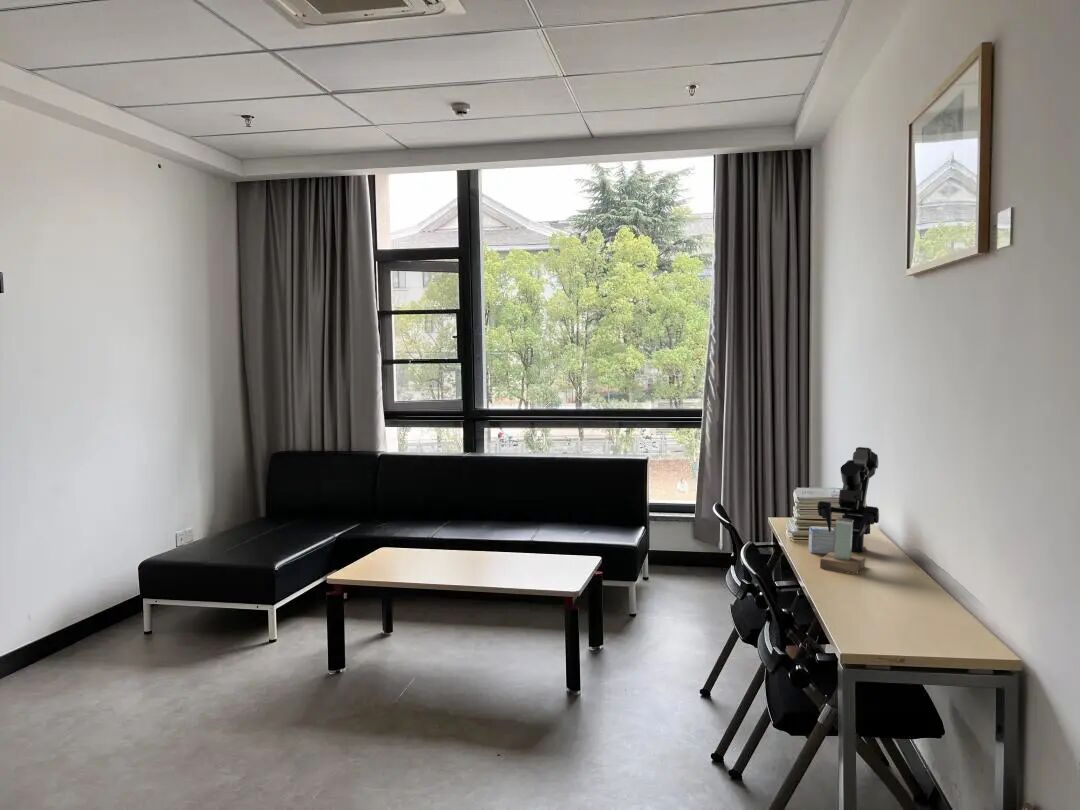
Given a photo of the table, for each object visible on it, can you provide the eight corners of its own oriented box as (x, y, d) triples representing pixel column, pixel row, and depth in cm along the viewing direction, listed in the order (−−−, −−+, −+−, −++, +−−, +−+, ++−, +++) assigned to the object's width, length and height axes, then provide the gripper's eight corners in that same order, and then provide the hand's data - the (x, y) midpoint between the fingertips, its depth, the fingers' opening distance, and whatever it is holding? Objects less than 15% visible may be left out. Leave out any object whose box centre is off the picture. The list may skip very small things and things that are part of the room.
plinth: (830, 560, 259) (830, 551, 259) (864, 566, 252) (865, 557, 252) (820, 567, 250) (820, 558, 250) (855, 574, 244) (855, 565, 243)
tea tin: (836, 555, 254) (838, 517, 253) (851, 557, 252) (853, 519, 251) (834, 558, 250) (835, 520, 249) (849, 561, 248) (851, 522, 247)
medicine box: (831, 551, 271) (832, 526, 270) (834, 554, 266) (835, 530, 266) (807, 550, 272) (809, 526, 271) (811, 553, 267) (812, 529, 266)
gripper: (819, 477, 258) (811, 515, 250) (880, 482, 249) (874, 523, 241) (822, 496, 266) (815, 534, 257) (881, 502, 257) (875, 542, 248)
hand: (844, 533), depth 251 cm, fingers open, 9 cm apart
